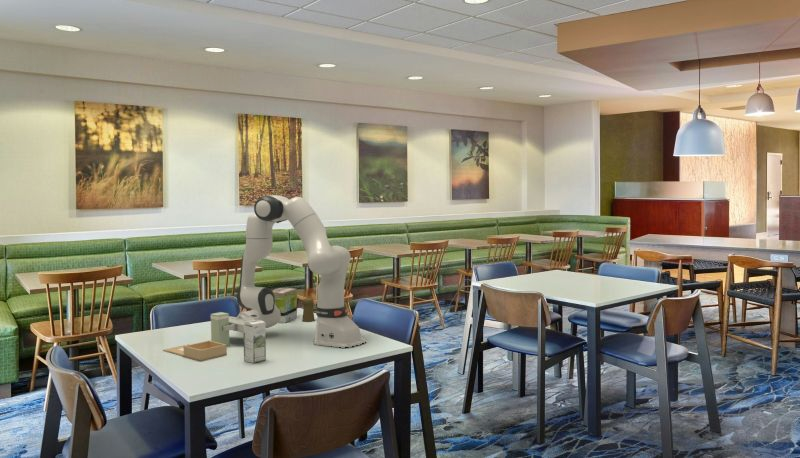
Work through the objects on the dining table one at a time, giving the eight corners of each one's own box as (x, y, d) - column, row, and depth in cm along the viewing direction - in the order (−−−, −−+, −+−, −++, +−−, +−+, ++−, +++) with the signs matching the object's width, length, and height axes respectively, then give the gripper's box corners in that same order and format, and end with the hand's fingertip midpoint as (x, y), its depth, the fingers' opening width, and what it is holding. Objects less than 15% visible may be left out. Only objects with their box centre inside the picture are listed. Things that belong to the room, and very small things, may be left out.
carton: (229, 345, 250) (228, 313, 249) (218, 347, 246) (217, 315, 245) (222, 343, 253) (221, 312, 252) (211, 345, 249) (210, 314, 248)
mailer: (226, 354, 234) (226, 344, 234) (200, 361, 226) (200, 350, 226) (188, 345, 251) (188, 335, 251) (163, 350, 242) (162, 340, 242)
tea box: (286, 323, 292) (285, 292, 291) (266, 322, 294) (265, 292, 293) (297, 317, 306) (297, 287, 306) (278, 316, 308) (278, 287, 308)
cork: (302, 322, 293) (302, 299, 293) (301, 320, 299) (300, 297, 299) (315, 321, 295) (315, 298, 294) (313, 319, 301) (313, 296, 300)
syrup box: (256, 357, 230) (255, 319, 229) (266, 360, 226) (265, 321, 225) (243, 361, 226) (242, 321, 225) (253, 363, 222) (252, 323, 221)
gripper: (231, 311, 265) (203, 316, 255) (261, 317, 253) (233, 322, 242) (231, 326, 266) (203, 331, 255) (261, 332, 253) (233, 338, 242)
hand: (218, 327), depth 248 cm, fingers closed on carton, 5 cm apart
